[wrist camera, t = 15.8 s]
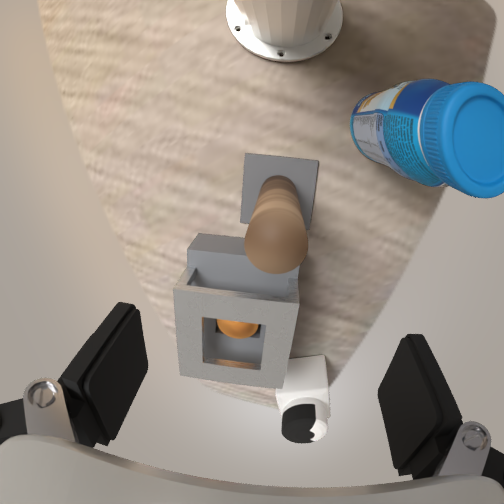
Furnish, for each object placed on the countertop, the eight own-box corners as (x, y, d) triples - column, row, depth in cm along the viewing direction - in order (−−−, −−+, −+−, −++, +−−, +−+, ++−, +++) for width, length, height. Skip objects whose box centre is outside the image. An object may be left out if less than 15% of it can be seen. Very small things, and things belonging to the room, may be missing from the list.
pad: (245, 153, 33) (245, 153, 33) (317, 160, 33) (318, 161, 32) (240, 221, 36) (240, 222, 36) (308, 228, 36) (309, 229, 36)
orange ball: (225, 279, 39) (217, 302, 34) (263, 283, 39) (260, 307, 34) (224, 310, 41) (216, 335, 36) (260, 314, 41) (256, 341, 36)
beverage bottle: (337, 147, 32) (404, 179, 14) (360, 79, 28) (448, 36, 10) (402, 175, 32) (507, 235, 14) (424, 110, 29) (545, 116, 10)
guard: (187, 266, 34) (173, 288, 29) (297, 278, 33) (299, 303, 28) (190, 348, 38) (180, 375, 34) (283, 360, 38) (282, 389, 33)
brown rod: (261, 173, 33) (246, 211, 19) (298, 177, 33) (312, 217, 19) (258, 208, 35) (242, 270, 20) (294, 211, 35) (303, 276, 20)
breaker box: (198, 233, 37) (187, 249, 33) (298, 243, 37) (300, 261, 32) (199, 336, 44) (191, 359, 39) (281, 347, 43) (280, 371, 39)
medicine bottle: (283, 389, 47) (281, 450, 36) (276, 359, 44) (273, 423, 33) (327, 384, 46) (333, 445, 35) (324, 353, 43) (332, 417, 32)
